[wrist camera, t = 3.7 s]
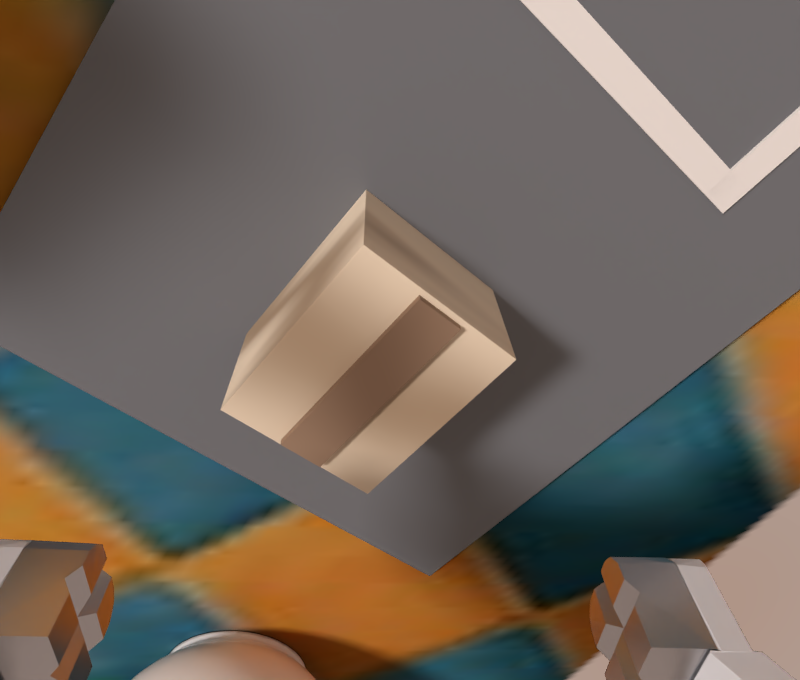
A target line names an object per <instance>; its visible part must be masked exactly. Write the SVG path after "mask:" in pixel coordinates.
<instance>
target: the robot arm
mask: <svg viewBox="0 0 800 680" xmlns="http://www.w3.org/2000/svg"><path fill="white" fill-rule="evenodd" d="M106 559H107V557H106V554H105V551H104V548H103V544H89V543H71V542H52V541H34V540H7V539H0V680H87V678H88V676H89V673H90V671H91V668H92V664H91V660H90V657H89V654H88V651H89V650H91V649H92V648H93V647H94V646H95V645H96V644H98V643H99V642H100V641H101V640H102V639H103V638H104V636H105V633H106V630H107V628H108V625H109V622H110V619H111V614H112V609H113V604H114V586H113V581H112V577H111V576H109V575H108V574H107V573H106V572H104V571H103V570H102V568H103V566H104V564H105V562H106ZM601 573H602V576H603V579H604V582H603V583H602V584H600V585H599V586H598V587H596V588H595V589H594V591H593V594H592V597H591V601H590V624H591V630H592V635H593V638H594V641H595V645H596V648H597V649H598V650H599V651H600V652H601V653H602V654H604V655H605V656H606V657H607V658H608V659H609V660H610V662H609V665H608V667H607V669H606V672H605V676H606V680H796V679H795V678H793V677H792V676H791V675H790V674H789V673H787V672H786V671H785V670H784V669H783V668H781V667H780V666H779V665H778V664H776V663H775V662H774V661H772V659H770V658H769V657H768V656H766V655H765V654H764V653H763V652H758V651H752V649H751V647H750V645H749V643H748V641H747V640H746V638H745V636H744V634H743V632H742V630H741V628H740V627H739V625H738V623H737V621H736V619H735V618H734V616H733V614H732V612H731V610H730V608H729V607H728V605H727V603H726V601H725V599H724V598H723V596H722V594H721V592H720V590H719V588H718V586H717V585H716V583H715V581H714V579H713V577H712V575H711V574H710V572H709V570H708V568H707V566H706V565H705V564H704V563H703V562H702V561H701V560H700V559H667V558H650V557H609V558H608V559H607V560H606V561H605V562H604V565H603V567H602V570H601Z"/></svg>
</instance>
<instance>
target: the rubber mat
mask: <svg viewBox="0 0 800 680" xmlns="http://www.w3.org/2000/svg"><path fill="white" fill-rule="evenodd" d="M365 190H368V191H369V192H370V193H371V194H373V195H374V196H375V197H376V198H378V199H379V200H380V201H381V202H383V203H384V204H385V205H386V206H388V207H389V208H390V209H391V210H393V211H394V212H395V213H396V214H398V215H399V216H400V217H402V218H403V219H404V220H405V221H407V222H408V223H409V224H410V225H412V226H413V227H414V228H415V229H417V230H418V231H419V232H420V233H422V234H423V235H424V236H425V237H427V238H428V239H429V240H430V241H432V242H433V243H434V244H435V245H437V246H438V247H439V248H441V249H442V250H443V251H444V252H446V253H447V254H448V255H449V256H451V257H452V258H453V259H454V260H456V261H457V262H458V263H459V264H461V265H462V266H463V267H464V268H466V269H467V270H468V271H469V272H471V273H472V274H473V275H474V276H476V277H477V278H478V279H480V280H481V281H482V282H483V283H485V284H486V285H487V286H488V287H490V288H491V289H492V290H493V292H494V295H495V298H496V301H497V304H498V307H499V310H500V313H501V316H502V319H503V322H504V325H505V327H506V330H507V333H508V336H509V339H510V342H511V345H512V348H513V351H514V354H515V357H516V360H515V361H514V362H513V363H512V364H511V365H510V366H509V367H508V368H507V369H506V370H504V371H503V372H502V373H501V374H500V375H499V376H498V377H497V378H496V379H494V380H493V381H492V382H491V383H490V384H489V385H488V386H487V387H486V388H484V389H483V390H482V391H481V392H480V393H479V394H478V395H477V396H476V397H475V398H473V399H472V400H471V401H470V402H469V403H468V404H467V405H466V406H465V407H463V408H462V409H461V410H460V411H459V412H458V413H457V414H456V415H455V416H453V417H452V418H451V419H450V420H449V421H448V422H447V423H446V424H445V425H444V426H442V427H441V428H440V429H439V430H438V431H437V432H436V433H435V434H434V435H432V436H431V437H430V438H429V439H428V440H427V441H426V442H425V443H424V444H422V445H421V446H420V447H419V448H418V449H417V450H416V451H415V452H414V453H413V454H411V455H410V456H409V457H408V458H407V459H406V460H405V461H404V462H403V463H401V464H400V465H399V466H398V467H397V468H396V469H395V470H394V471H393V472H391V473H390V474H389V475H388V476H387V477H386V478H385V479H384V480H383V481H382V482H380V483H379V484H378V485H377V486H376V487H375V488H374V489H373V490H372V491H370V492H369V493H368V494H367V493H365V492H363V491H361V490H360V489H358V488H356V487H354V486H353V485H351V484H349V483H347V482H346V481H344V480H342V479H340V478H339V477H337V476H335V475H333V474H332V473H330V472H328V471H326V470H325V469H323V468H321V467H319V466H317V465H315V464H313V463H312V462H310V461H308V460H306V459H305V458H303V457H301V456H299V455H298V454H296V453H294V452H292V451H291V450H289V449H287V448H285V447H284V446H282V445H280V444H279V443H277V442H276V441H274V440H272V439H270V438H269V437H267V436H265V435H263V434H262V433H260V432H258V431H256V430H255V429H253V428H251V427H249V426H248V425H246V424H244V423H242V422H241V421H239V420H237V419H235V418H234V417H232V416H230V415H228V414H227V413H225V412H223V411H221V410H220V409H221V407H222V404H223V401H224V398H225V395H226V392H227V389H228V386H229V383H230V380H231V377H232V374H233V372H234V369H235V366H236V363H237V360H238V357H239V354H240V351H241V348H242V345H243V342H244V339H245V337H246V334H247V333H248V331H249V330H250V329H251V328H252V327H253V325H254V324H255V323H256V322H257V321H258V319H259V318H260V317H261V316H262V314H263V313H264V312H265V311H266V310H267V308H268V307H269V306H270V305H271V304H272V302H273V301H274V300H275V299H276V298H277V296H278V295H279V294H280V293H281V292H282V290H283V289H284V288H285V287H286V286H287V284H288V283H289V282H290V281H291V280H292V278H293V277H294V276H295V275H296V273H297V272H298V271H299V270H300V269H301V267H302V266H303V265H304V264H305V263H306V261H307V260H308V259H309V258H310V257H311V255H312V254H313V253H314V252H315V251H316V249H317V248H318V247H319V246H320V245H321V243H322V242H323V241H324V240H325V238H326V237H327V236H328V235H329V234H330V232H331V231H332V230H333V229H334V228H335V226H336V225H337V224H338V223H339V222H340V220H341V219H342V218H343V217H344V216H345V214H346V213H347V212H348V211H349V210H350V208H351V207H352V206H353V205H354V204H355V202H356V201H357V200H358V199H359V197H360V196H361V195H362V194H363V193H364V191H365ZM798 290H800V0H115V1H114V3H113V5H112V6H111V8H110V10H109V12H108V14H107V16H106V18H105V19H104V21H103V23H102V25H101V27H100V29H99V31H98V32H97V34H96V36H95V38H94V40H93V42H92V44H91V45H90V47H89V49H88V51H87V53H86V55H85V57H84V58H83V60H82V62H81V64H80V66H79V68H78V70H77V71H76V73H75V75H74V77H73V79H72V81H71V83H70V84H69V86H68V88H67V90H66V92H65V94H64V95H63V97H62V99H61V101H60V103H59V105H58V107H57V108H56V110H55V112H54V114H53V116H52V118H51V120H50V121H49V123H48V125H47V127H46V129H45V131H44V133H43V134H42V136H41V138H40V140H39V142H38V144H37V146H36V147H35V149H34V151H33V153H32V155H31V157H30V159H29V160H28V162H27V164H26V166H25V168H24V170H23V172H22V173H21V175H20V177H19V179H18V181H17V183H16V185H15V186H14V188H13V190H12V192H11V194H10V196H9V197H8V199H7V201H6V203H5V205H4V207H3V209H2V210H1V212H0V346H1V347H3V348H5V349H7V350H8V351H10V352H12V353H14V354H16V355H18V356H20V357H22V358H23V359H25V360H27V361H29V362H31V363H33V364H35V365H37V366H38V367H40V368H42V369H44V370H46V371H48V372H50V373H51V374H53V375H55V376H57V377H59V378H61V379H63V380H65V381H66V382H68V383H70V384H72V385H74V386H76V387H78V388H79V389H81V390H83V391H85V392H87V393H89V394H91V395H93V396H94V397H96V398H98V399H100V400H102V401H104V402H106V403H107V404H109V405H111V406H113V407H115V408H117V409H119V410H121V411H122V412H124V413H126V414H128V415H130V416H132V417H134V418H135V419H137V420H139V421H141V422H143V423H145V424H147V425H149V426H150V427H152V428H154V429H156V430H158V431H160V432H162V433H163V434H165V435H167V436H169V437H171V438H173V439H175V440H177V441H178V442H180V443H182V444H184V445H186V446H188V447H190V448H191V449H193V450H195V451H197V452H199V453H201V454H203V455H205V456H206V457H208V458H210V459H212V460H214V461H216V462H218V463H219V464H221V465H223V466H225V467H227V468H229V469H231V470H233V471H234V472H236V473H238V474H240V475H242V476H244V477H246V478H247V479H249V480H251V481H253V482H255V483H257V484H259V485H261V486H262V487H264V488H266V489H268V490H270V491H272V492H274V493H275V494H277V495H279V496H281V497H283V498H285V499H287V500H289V501H290V502H292V503H294V504H296V505H298V506H300V507H302V508H304V509H305V510H307V511H309V512H311V513H313V514H315V515H317V516H318V517H320V518H322V519H324V520H326V521H328V522H330V523H332V524H333V525H335V526H337V527H339V528H341V529H343V530H345V531H346V532H348V533H350V534H352V535H354V536H356V537H358V538H360V539H361V540H363V541H365V542H367V543H369V544H371V545H373V546H374V547H376V548H378V549H380V550H382V551H384V552H386V553H388V554H389V555H391V556H393V557H395V558H397V559H399V560H401V561H402V562H404V563H406V564H408V565H410V566H412V567H414V568H416V569H417V570H419V571H421V572H423V573H425V574H427V575H429V576H430V575H432V574H433V573H434V572H436V571H437V570H438V569H439V568H441V567H442V566H443V565H445V564H446V563H447V562H448V561H450V560H451V559H452V558H454V557H455V556H456V555H458V554H459V553H460V552H461V551H463V550H464V549H465V548H467V547H468V546H469V545H470V544H472V543H473V542H474V541H476V540H477V539H478V538H479V537H481V536H482V535H483V534H485V533H486V532H487V531H488V530H490V529H491V528H492V527H494V526H495V525H496V524H498V523H499V522H500V521H501V520H503V519H504V518H505V517H507V516H508V515H509V514H510V513H512V512H513V511H514V510H516V509H517V508H518V507H519V506H521V505H522V504H523V503H525V502H526V501H527V500H529V499H530V498H531V497H532V496H534V495H535V494H536V493H538V492H539V491H540V490H541V489H543V488H544V487H545V486H547V485H548V484H549V483H550V482H552V481H553V480H554V479H556V478H557V477H558V476H559V475H561V474H562V473H563V472H565V471H566V470H567V469H569V468H570V467H571V466H572V465H574V464H575V463H576V462H578V461H579V460H580V459H581V458H583V457H584V456H585V455H587V454H588V453H589V452H590V451H592V450H593V449H594V448H596V447H597V446H598V445H599V444H601V443H602V442H603V441H605V440H606V439H607V438H609V437H610V436H611V435H612V434H614V433H615V432H616V431H618V430H619V429H620V428H621V427H623V426H624V425H625V424H627V423H628V422H629V421H630V420H632V419H633V418H634V417H636V416H637V415H638V414H640V413H641V412H642V411H643V410H645V409H646V408H647V407H649V406H650V405H651V404H652V403H654V402H655V401H656V400H658V399H659V398H660V397H661V396H663V395H664V394H665V393H667V392H668V391H669V390H670V389H672V388H673V387H674V386H676V385H677V384H678V383H680V382H681V381H682V380H683V379H685V378H686V377H687V376H689V375H690V374H691V373H692V372H694V371H695V370H696V369H698V368H699V367H700V366H701V365H703V364H704V363H705V362H707V361H708V360H709V359H710V358H712V357H713V356H714V355H716V354H717V353H718V352H720V351H721V350H722V349H723V348H725V347H726V346H727V345H729V344H730V343H731V342H732V341H734V340H735V339H736V338H738V337H739V336H740V335H741V334H743V333H744V332H745V331H747V330H748V329H749V328H750V327H752V326H753V325H754V324H756V323H757V322H758V321H760V320H761V319H762V318H763V317H765V316H766V315H767V314H769V313H770V312H771V311H772V310H774V309H775V308H776V307H778V306H779V305H780V304H781V303H783V302H784V301H785V300H787V299H788V298H789V297H791V296H792V295H793V294H794V293H796V292H797V291H798Z"/></svg>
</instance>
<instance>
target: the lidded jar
mask: <svg viewBox="0 0 800 680" xmlns="http://www.w3.org/2000/svg"><path fill="white" fill-rule="evenodd" d="M132 680H316V679H315V678H314V677H313V676H312V675H311V674H310V673H309V672H308V671H307V670H306V667H305V665H304V662H303V661H302V659H301V658H300V656H299V655H298V654H297V653H296V652H295V651H294V650H293V649H291V648H290V647H288V646H287V645H285V644H283V643H282V642H280V641H278V640H275V639H273V638H270V637H268V636H264V635H260V634H256V633H251V632H244V631H217V632H209V633H205V634H200V635H197V636H194V637H191V638H189V639H187V640H185V641H183V642H182V643H180V644H179V645H177V646H176V647H175V648H174V649H173V650H172V651H171V652H170V654H169V655H167V656H165V657H163V658H161V659H159V660H157V661H156V662H154V663H153V664H151V665H150V666H148V667H147V668H146V669H144V670H143V671H141V672H140V673H138V674H137V675H136V676H135V677H134V678H133V679H132Z"/></svg>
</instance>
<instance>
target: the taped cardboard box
mask: <svg viewBox="0 0 800 680" xmlns="http://www.w3.org/2000/svg"><path fill="white" fill-rule="evenodd" d="M515 360H516V357H515V354H514V351H513V348H512V345H511V342H510V339H509V336H508V333H507V330H506V327H505V325H504V322H503V319H502V316H501V313H500V310H499V307H498V304H497V301H496V298H495V295H494V292H493V290H492V289H491V288H490V287H488V286H487V285H486V284H485V283H483V282H482V281H481V280H480V279H478V278H477V277H476V276H474V275H473V274H472V273H471V272H469V271H468V270H467V269H466V268H464V267H463V266H462V265H461V264H459V263H458V262H457V261H456V260H454V259H453V258H452V257H451V256H449V255H448V254H447V253H446V252H444V251H443V250H442V249H441V248H439V247H438V246H437V245H435V244H434V243H433V242H432V241H430V240H429V239H428V238H427V237H425V236H424V235H423V234H422V233H420V232H419V231H418V230H417V229H415V228H414V227H413V226H412V225H410V224H409V223H408V222H407V221H405V220H404V219H403V218H402V217H400V216H399V215H398V214H396V213H395V212H394V211H393V210H391V209H390V208H389V207H388V206H386V205H385V204H384V203H383V202H381V201H380V200H379V199H378V198H376V197H375V196H374V195H373V194H371V193H370V192H369V191H368V190H365V191H364V193H363V194H362V195H361V196H360V197H359V199H358V200H357V201H356V202H355V204H354V205H353V206H352V207H351V208H350V210H349V211H348V212H347V213H346V214H345V216H344V217H343V218H342V219H341V220H340V222H339V223H338V224H337V225H336V226H335V228H334V229H333V230H332V231H331V232H330V234H329V235H328V236H327V237H326V238H325V240H324V241H323V242H322V243H321V245H320V246H319V247H318V248H317V249H316V251H315V252H314V253H313V254H312V255H311V257H310V258H309V259H308V260H307V261H306V263H305V264H304V265H303V266H302V267H301V269H300V270H299V271H298V272H297V273H296V275H295V276H294V277H293V278H292V280H291V281H290V282H289V283H288V284H287V286H286V287H285V288H284V289H283V290H282V292H281V293H280V294H279V295H278V296H277V298H276V299H275V300H274V301H273V302H272V304H271V305H270V306H269V307H268V308H267V310H266V311H265V312H264V313H263V314H262V316H261V317H260V318H259V319H258V321H257V322H256V323H255V324H254V325H253V327H252V328H251V329H250V330H249V331H248V333H247V334H246V337H245V339H244V342H243V345H242V348H241V351H240V354H239V357H238V360H237V363H236V366H235V369H234V372H233V374H232V377H231V380H230V383H229V386H228V389H227V392H226V395H225V398H224V401H223V404H222V407H221V409H220V410H221V411H223V412H225V413H227V414H228V415H230V416H232V417H234V418H235V419H237V420H239V421H241V422H242V423H244V424H246V425H248V426H249V427H251V428H253V429H255V430H256V431H258V432H260V433H262V434H263V435H265V436H267V437H269V438H270V439H272V440H274V441H276V442H277V443H279V444H280V445H282V446H284V447H285V448H287V449H289V450H291V451H292V452H294V453H296V454H298V455H299V456H301V457H303V458H305V459H306V460H308V461H310V462H312V463H313V464H315V465H317V466H319V467H321V468H323V469H325V470H326V471H328V472H330V473H332V474H333V475H335V476H337V477H339V478H340V479H342V480H344V481H346V482H347V483H349V484H351V485H353V486H354V487H356V488H358V489H360V490H361V491H363V492H365V493H367V494H368V493H369V492H370V491H372V490H373V489H374V488H375V487H376V486H377V485H378V484H379V483H380V482H382V481H383V480H384V479H385V478H386V477H387V476H388V475H389V474H390V473H391V472H393V471H394V470H395V469H396V468H397V467H398V466H399V465H400V464H401V463H403V462H404V461H405V460H406V459H407V458H408V457H409V456H410V455H411V454H413V453H414V452H415V451H416V450H417V449H418V448H419V447H420V446H421V445H422V444H424V443H425V442H426V441H427V440H428V439H429V438H430V437H431V436H432V435H434V434H435V433H436V432H437V431H438V430H439V429H440V428H441V427H442V426H444V425H445V424H446V423H447V422H448V421H449V420H450V419H451V418H452V417H453V416H455V415H456V414H457V413H458V412H459V411H460V410H461V409H462V408H463V407H465V406H466V405H467V404H468V403H469V402H470V401H471V400H472V399H473V398H475V397H476V396H477V395H478V394H479V393H480V392H481V391H482V390H483V389H484V388H486V387H487V386H488V385H489V384H490V383H491V382H492V381H493V380H494V379H496V378H497V377H498V376H499V375H500V374H501V373H502V372H503V371H504V370H506V369H507V368H508V367H509V366H510V365H511V364H512V363H513V362H514V361H515Z"/></svg>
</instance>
